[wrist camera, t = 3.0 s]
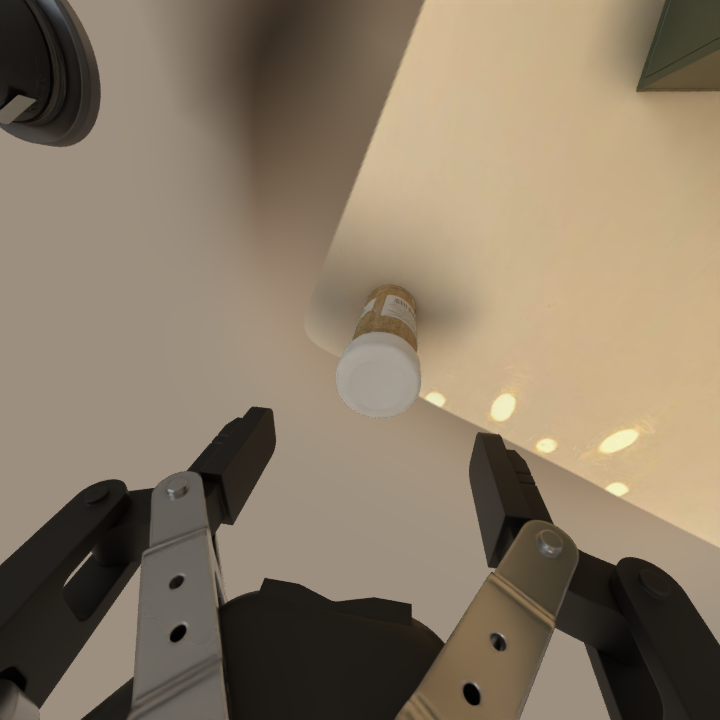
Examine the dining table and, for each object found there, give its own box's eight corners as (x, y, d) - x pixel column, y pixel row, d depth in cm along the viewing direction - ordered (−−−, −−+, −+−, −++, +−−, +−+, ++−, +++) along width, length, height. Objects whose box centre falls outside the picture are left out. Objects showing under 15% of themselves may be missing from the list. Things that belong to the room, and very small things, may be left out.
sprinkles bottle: (356, 297, 28) (317, 364, 16) (404, 275, 27) (399, 330, 15) (378, 340, 30) (357, 431, 18) (424, 322, 28) (435, 406, 16)
